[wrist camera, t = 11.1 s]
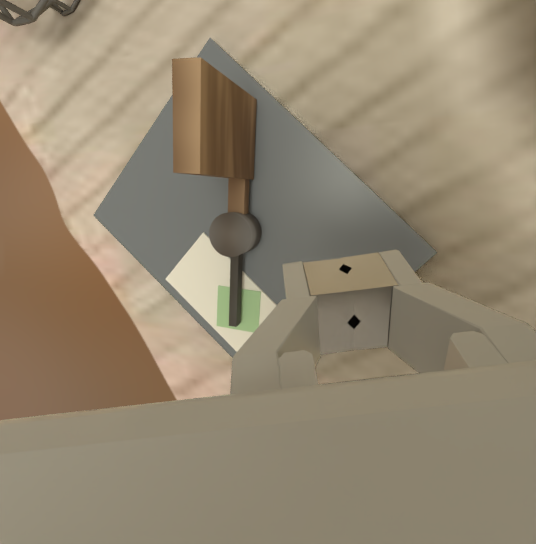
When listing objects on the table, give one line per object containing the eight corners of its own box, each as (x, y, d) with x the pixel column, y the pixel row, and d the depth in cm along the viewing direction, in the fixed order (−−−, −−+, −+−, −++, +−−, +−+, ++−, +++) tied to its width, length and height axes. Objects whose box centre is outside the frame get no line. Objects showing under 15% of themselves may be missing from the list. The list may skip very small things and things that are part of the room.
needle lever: (267, 99, 33) (215, 56, 23) (257, 323, 38) (210, 372, 27) (225, 100, 34) (158, 59, 24) (221, 317, 39) (163, 362, 28)
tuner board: (435, 251, 32) (437, 253, 31) (273, 393, 40) (270, 399, 39) (213, 41, 34) (208, 35, 33) (98, 214, 42) (90, 215, 41)
